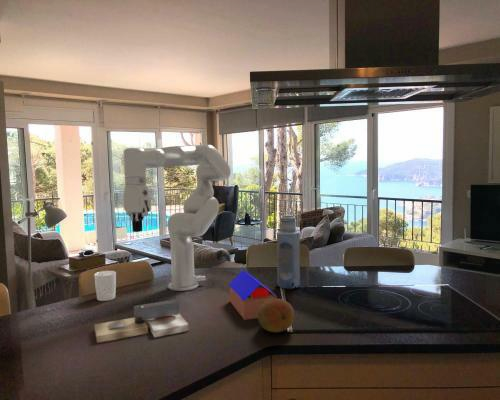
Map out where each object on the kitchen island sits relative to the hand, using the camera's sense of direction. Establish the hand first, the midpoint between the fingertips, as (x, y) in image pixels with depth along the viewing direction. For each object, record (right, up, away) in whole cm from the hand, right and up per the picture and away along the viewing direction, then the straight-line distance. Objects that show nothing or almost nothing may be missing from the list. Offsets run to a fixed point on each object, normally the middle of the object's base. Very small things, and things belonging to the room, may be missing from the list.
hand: (137, 231), depth 145 cm
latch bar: (+12, -26, -21) cm, 35 cm away
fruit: (+49, -28, -26) cm, 62 cm away
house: (+42, -27, -6) cm, 51 cm away
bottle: (+58, -25, +20) cm, 66 cm away
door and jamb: (+7, -29, -23) cm, 37 cm away
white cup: (-15, -27, +8) cm, 32 cm away
